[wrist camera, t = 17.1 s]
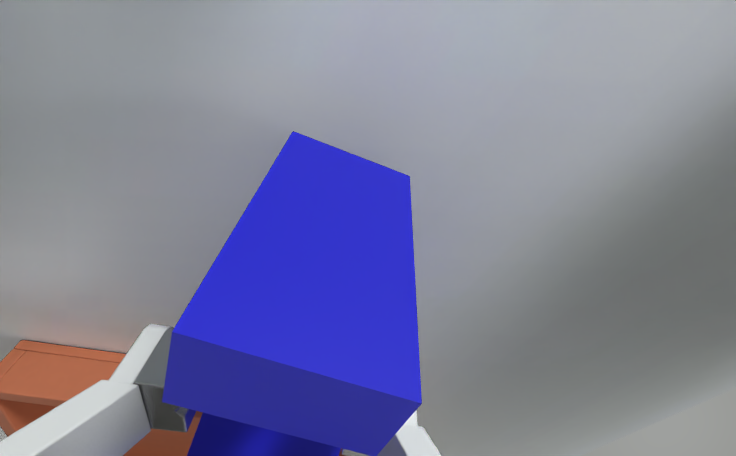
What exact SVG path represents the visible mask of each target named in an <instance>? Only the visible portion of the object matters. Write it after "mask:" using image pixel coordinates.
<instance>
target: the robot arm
mask: <svg viewBox="0 0 736 456" xmlns="http://www.w3.org/2000/svg"><path fill="white" fill-rule="evenodd" d="M173 329H174V327H169V326H163V325H156V324H149V325H148V326H147V327H145V328H144V329H143V330H142V332H141V333H140V335H139V336H138V338H137V339H136V341H135V342H134V344H133V345H132V346H131V348H130V349H129V351H128V352H127V354H126V355H125V357H124V358H123V360H122V361H121V362H120V364H119V365H118V367H117V368H116V370H115V371H114V373H113V374H112V375H111V377H110V378H109V380H100V381H99V382H97V383H95V384H94V385H92V386H90V387H89V388H87V389H85V390H84V391H82V392H80V393H79V394H77V395H76V396H74V397H72V398H71V399H69V400H67V401H66V402H64V403H62V404H61V405H59V406H57V407H56V408H54V409H52V410H51V411H49V412H48V413H46V414H44V415H43V416H41V417H39V418H38V419H36V420H34V421H33V422H31V423H29V424H28V425H26V426H24V427H23V428H21V429H19V430H18V431H16V432H15V433H13V434H11V435H10V436H8V437H6V438H5V439H3V440H1V441H0V456H123V455H124V454H125V453H126V452H127V451H129V450H130V449H131V448H132V447H133V446H134V445H135V444H137V443H138V442H139V441H140V440H141V439H142V438H144V437H145V436H146V435H147V434H148V433H149V432H150V431H151V429H160V430H169V431H178V432H186V433H187V431H188V429H189V427H190V424H191V422H192V420H193V418H194V415H195V413H196V411H195V410H191V409H187V408H183V407H180V406H176V405H172V404H168V403H164V402H162V398H163V391H164V384H165V377H166V370H167V363H168V356H169V349H170V342H171V335H172V331H173ZM342 455H346V456H370V455H366V454H362V453H358V452H354V451H350V450H346V449H343V448H342ZM377 456H441V454H440V452H439V451H438V449H437V448H436V446H435V444H434V443H433V441H432V440H431V438H430V436H429V435H428V433H427V432H426V430H425V429H424V427H421V426H418V421H417V410H416V411H415V412H414V413H413V414H412V415H411V417H410V418H409V419H408V420H407V421H406V422H405V424H404V425H403V426H402V427H401V428H400V429H399V430H398V432H397V433H396V434H395V435H394V436H393V437H392V439H391V440H390V441H389V442H388V443H387V444H386V446H385V447H384V448H383V449H382V450H381V451H380V453H379V454H378V455H377Z"/></svg>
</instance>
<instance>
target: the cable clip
mask: <svg viewBox="0 0 736 456" xmlns="http://www.w3.org/2000/svg"><path fill="white" fill-rule="evenodd" d="M162 402H164V403H168V404H172V405H176V406H180V407H183V408H187V409H191V410H195V411H199V412H203V413H202V416H201V419H200V422H199V424H198V427H197V430H196V432H195V435H194V438H193V440H192V443H191V446H190V448H189V451H188V454H187V456H339V453H340V450H341V448H343V449H346V450H350V451H354V452H358V453H362V454H366V455H370V456H377V455H378V454H379V453H380V451H381V450H382V449H383V448H384V447H385V446H386V444H387V443H388V442H389V441H390V440H391V439H392V437H393V436H394V435H395V434H396V433H397V432H398V430H399V429H400V428H401V427H402V426H403V425H404V424H405V422H406V421H407V420H408V419H409V418H410V417H411V415H412V414H413V413H414V412H415V411H416V410H417V408H418V407H419V406H420V405H421V404H422V399H421V380H420V361H419V343H418V324H417V305H416V286H415V267H414V249H413V230H412V211H411V192H410V176H408V175H405V174H403V173H400V172H397V171H395V170H392V169H390V168H387V167H385V166H382V165H379V164H377V163H374V162H372V161H369V160H366V159H364V158H361V157H359V156H356V155H353V154H351V153H348V152H346V151H343V150H340V149H338V148H335V147H333V146H330V145H327V144H325V143H322V142H320V141H317V140H314V139H312V138H309V137H307V136H304V135H302V134H299V133H296V132H294V131H293V132H292V134H291V135H290V137H289V139H288V140H287V142H286V144H285V145H284V147H283V148H282V150H281V152H280V153H279V155H278V157H277V158H276V160H275V162H274V163H273V165H272V167H271V168H270V170H269V172H268V173H267V175H266V177H265V178H264V180H263V182H262V183H261V185H260V187H259V188H258V190H257V192H256V193H255V195H254V197H253V198H252V200H251V202H250V203H249V205H248V207H247V208H246V210H245V212H244V213H243V215H242V217H241V218H240V220H239V221H238V223H237V225H236V226H235V228H234V230H233V231H232V233H231V235H230V236H229V238H228V240H227V241H226V243H225V245H224V246H223V248H222V250H221V251H220V253H219V255H218V256H217V258H216V260H215V261H214V263H213V265H212V266H211V268H210V270H209V271H208V273H207V275H206V276H205V278H204V280H203V281H202V283H201V285H200V286H199V288H198V290H197V291H196V293H195V295H194V296H193V298H192V299H191V301H190V303H189V304H188V306H187V308H186V309H185V311H184V313H183V314H182V316H181V318H180V319H179V321H178V323H177V324H176V326H175V328H174V329H173V331H172V335H171V342H170V349H169V356H168V363H167V370H166V377H165V384H164V391H163V398H162Z"/></svg>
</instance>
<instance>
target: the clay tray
mask: <svg viewBox="0 0 736 456" xmlns="http://www.w3.org/2000/svg"><path fill="white" fill-rule="evenodd" d="M125 355H126V354H121V353H114V352H107V351H99V350H92V349H85V348H77V347H70V346H63V345H55V344H48V343H41V342H34V341H26V340H21V341H20V342H19V343H18V344H17V345H16V346H15V347H14V349H13V350H11V351H10V353H9V354H8V355H7V356H6V357H5V358H4V359H3V360H2V361H1V362H0V426H1V428H2V429H3V431H4V432H5V434H6V435H7V436H10V435H11V434H13V433H15V432H16V431H18V430H19V429H21V428H23V427H24V426H26V425H28V424H29V423H31V422H33V421H34V420H36V419H38V418H39V417H41V416H43V415H44V414H46V413H48V412H49V411H51V410H52V409H54V408H56V407H57V406H59V405H61V404H62V403H64V402H66V401H67V400H69V399H71V398H72V397H74V396H76V395H77V394H79V393H80V392H82V391H84V390H85V389H87V388H89V387H90V386H92V385H94V384H95V383H97V382H99V381H100V380H109V378H110V377H111V375H112V374H113V373H114V371H115V370H116V368H117V367H118V365H119V364H120V362H121V361H122V360H123V358H124V357H125ZM202 413H203V412H199V411H196V413H195V415H194V418H193V420H192V422H191V424H190V427H189V429H188V431H187V433H186V432H178V431H169V430H160V429H151V431H150V432H149V433H148V434H147V435H146V436H145V437H144V438H142V439H141V440H140V441H139V442H138V443H137V444H135V445H134V446H133V447H132V448H131V449H130V450H129V451H127V452H126V453H125V454H124V455H123V456H187V454H188V451H189V448H190V446H191V443H192V440H193V438H194V435H195V432H196V430H197V427H198V424H199V422H200V419H201V416H202ZM339 456H346V455H342V448H341V450H340V453H339Z"/></svg>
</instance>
